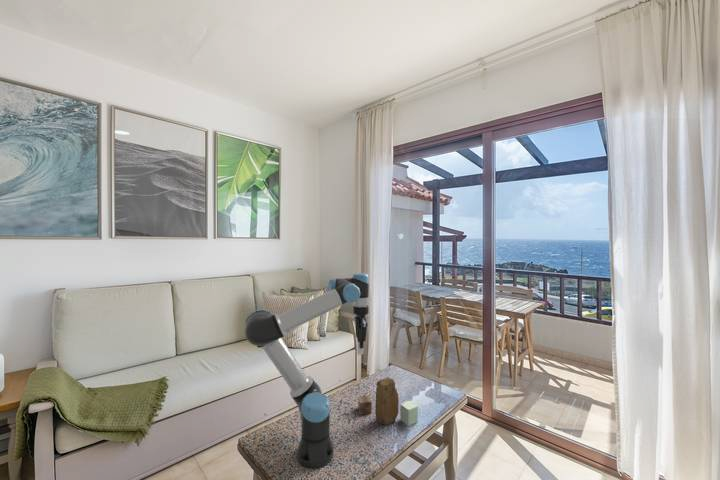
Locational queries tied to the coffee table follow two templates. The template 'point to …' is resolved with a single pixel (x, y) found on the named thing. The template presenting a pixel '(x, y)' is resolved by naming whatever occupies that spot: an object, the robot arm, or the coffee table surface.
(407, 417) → the green block
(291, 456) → the coffee table surface
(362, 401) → the walnut block
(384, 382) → the pitted sandstone rock
